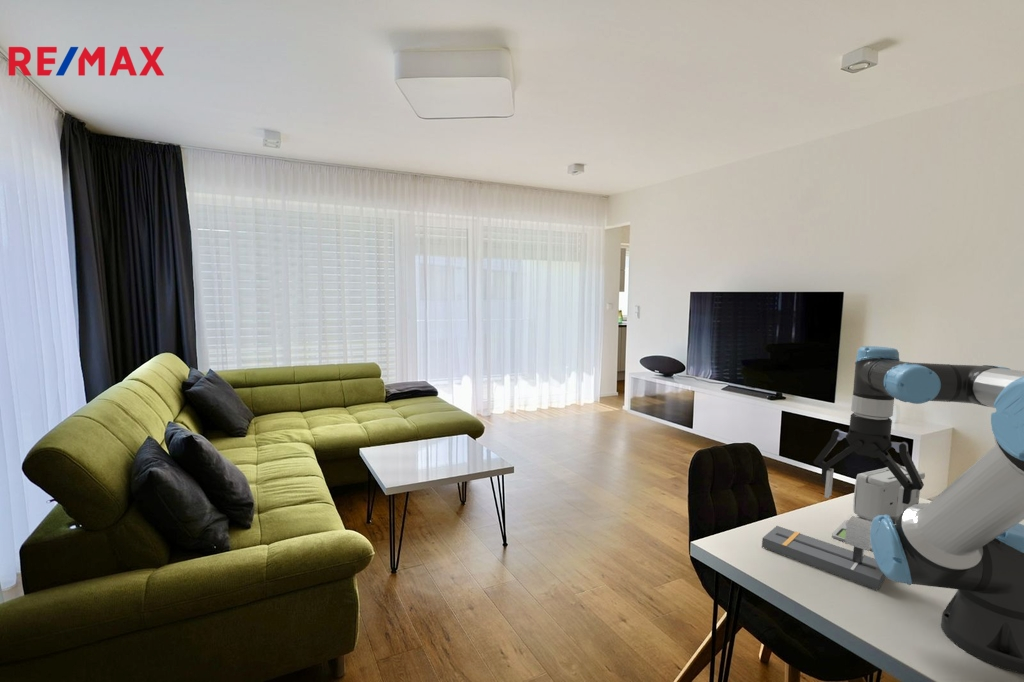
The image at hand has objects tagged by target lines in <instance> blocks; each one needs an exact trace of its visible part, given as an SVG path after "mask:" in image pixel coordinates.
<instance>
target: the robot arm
mask: <svg viewBox="0 0 1024 682" xmlns="http://www.w3.org/2000/svg"><path fill="white" fill-rule="evenodd" d="M856 353H857V354H856V359H855V362H854V364H855V365H854V366H855V367H854V377H853V378H854V379H853V391H852V398H851V407H850V408H851V409H850V410H851V412H852V413H851V414H850V419H849V428H848V432H844V431H842V430H841V429H840V428H837V429H835V430H833V431H832V432H831V436H830V440H829V441H827V443H826V445H825V446H824V447H823V449H821V451H820V452H819V454H818V455H816V457H815V459H814V460H813V461H812V463H813V464H814V465H815V466H818V467H820V468H821V477H820V480H821V482H822V483H824V484H825V485H824V486H825V487H824V499H825V498H826V499H829V498H830V497H831V496H832V493H833V482H834V480H833V479H834V470H835V469H834V468H831V467H833V466H834V465H836V464H837V463H838V462H840V461H841V460H843V459H844V458H846V457H847V456H849V455H850V454H852V453H856V454H857V455H859V456H867V457H869V458H872V459H873V458H874V459H875V458H879V459H880V461H881V462H882V463H884V465H885V466H886V467H888V468H889V470H890V471H891V472H892V474H893V475H894V476H895V477H896V479H897V480H898V481H899V482H900V484H901V485H902V486H901V487H900V488H899V494H898V503H897V513H896V516H889V515H878V516H876V517H875V518H874V519H873V521H871V522H872V523H871V528H870V537H871V546H872V550H873V552H872V553H873V558H874V559H875V560H876V562H877V564H878V566H879V568H880V570H881V571H882V572H883V573H884V575H885V576H886V578H887V579H888V580H891V581H893V582H896V583H901V584H906V585H908V586H911V585H917V586H918V585H919V586H925V587H926V586H927V587H932V588H933V587H935V588H945V589H951V590H956V592H955V593H954V595H953V596H952V598H951V599H950V601H949V603H948V604H947V605H946V607H945V609H944V610H943V612H942V613H941V619H940V620H941V621H940V628H941V630H942V632H943V634H944V635H945V636H946V637H947V638H948V639H949V640H950V641H951V642H952V643H954V644H955V645H956V646H958V647H959V648H961V649H963V650H964V651H965V652H966V653H968V654H970V655H971V656H972V655H973V656H975V657H976V658H977V659H980V660H982V661H984V662H986V663H988V664H990V665H994V666H995V667H999V668H1002V669H1004V670H1008V671H1010V672H1013V673H1018V674H1022V675H1024V524H1021V522H1022V521H1023V520H1024V371H1023V370H1017V369H1011V368H1008V367H1005V366H998V365H997V366H996V365H976V364H975V365H973V364H972V365H971V364H950V363H949V364H946V363H928V362H927V363H925V362H909V361H902V360H900V352H899V351H898V349H896V348H894V347H889V346H887V347H886V346H876V345H875V346H873V345H867V346H866V345H865V346H861V347H859V348H858V349H857V352H856ZM895 400H898V401H901V402H904V403H909V404H914V405H915V404H916V405H918V404H919V405H920V404H925V403H928V402H941V403H942V402H944V403H945V402H947V403H951V402H952V403H961V404H962V403H963V404H973V405H978V406H983V407H988V408H993V409H996V410H995V412H991V414H990V425H991V431H992V434H993V438H994V443H995V444H994V446H992V448H990V449H989V450H988V451H987V452H986V453H984V454H983V456H982V457H980V458H979V459H978V460H977V461H976V462H974V464H972V465H971V466H970V467H969V468H968V469H966V470H965V471H964V472H963V473H962V474H961V475H960V476H959V477H957V479H955V480H954V481H953V482H951V484H949V485H948V486H947V487H946V488H945V489H944V490H943V491H942V492H940V493H939V494H938V495H937V496H936V497H935V498H934V499H933V500H932V501H930V502H929V503H927V502H920V503H919V504H915V505H912V506H910V507H909V508H907V509H906V510H905V511H904V512H903V507H904V504H909V503H910V501H911V494H912V490H920V491H921V490H922V489H923V487H924V485H925V484H924V482H923V479H921V478H920V475H919V473H918V471H919V470H917V469H918V468H916V465H915V463H914V461H913V459H912V457H911V455H910V452H909V443H908V442H906V441H902V442H897V441H892V439H891V434H892V426H893V425H892V424H893V420H892V419H891V417H893V415H894V406H895V405H894V403H895ZM843 439H846V441H847V442H848V444H849V446H848V447H846V448H845V449H843V450H842V451H841V452H839V453H837V454H836V455H835V456H833V457H832V458H830V459H829V460H828V461H824V460H825V459H826V457H827V456H828V455H829V454H830V452H831V451H832V449H834V447H835V446H836V445H837V443H838V442H839V441H842V440H843ZM891 448H893V449H895V450H894V451H895V452H896V453H899V457H900V458H901V461H902V463H903V465H904V466H903V467H905V468H906V470H907V472H908V474H909V476H910V478H911V480H912V482H910V480H909V479H908V478H907V477H906V475H905V474H904V473H903V472H902V470H901V469H900V468H899V467H898V465H897V464H898V463H897V462H896V461H895V460H894V459H893V458H892V456H891V454H890V453H889V452H888V451H889V450H890V449H891ZM895 462H896V463H897V464H896V463H895Z"/></svg>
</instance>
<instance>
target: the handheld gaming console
mask: <svg viewBox="0 0 1024 682" xmlns="http://www.w3.org/2000/svg"><path fill="white" fill-rule="evenodd" d="M848 520H849V519H846V520H844V521H843V522H842V523H841V524H840V525H839V526H838V527H837V528H836V529H835V530H834V531H833V532H832V533H831V538H832V539H833V540H837V541H839V542H842V543H845V536H846V526H847V522H848ZM869 551H870V552H872V553H873V550H872V547H871V548H870V550H869ZM869 551H868V552H869Z"/></svg>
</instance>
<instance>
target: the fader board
mask: <svg viewBox="0 0 1024 682" xmlns="http://www.w3.org/2000/svg"><path fill="white" fill-rule="evenodd" d="M761 539H762V540H761V548H763V547H764V549H765V548H767V549H766V550H768V549H769V551H771V550H772V551H771V552H773V551H774V552H773V553H776V552H777V554H779V555H781V554H782V556H784V555H785V556H784V557H786V558H790V559H793V560H794V561H797V560H798V561H797V562H800V563H804V564H805V563H806V565H807V566H808V565H809V566H811V567H814V568H817V569H820V570H822V571H824V572H827V573H830V574H833V575H835V576H838V577H840V578H842V579H846V580H849V581H850V582H853V583H856V584H860V585H862V586H863V587H867V588H869V589H873V590H875V591H880V588H881V587H882V585H883V583H884V581H885V579H886V578H887V577H886V576H885V575H884V573H883V572H882V571H881V570H880V568H879V566H878V564H877V562H876V560H875V557H871V556H868V555H865V554H864V553H863V561H862V563H858V562H855V561H853V551H854V550H850V549H847V548H845V547H841V546H839V545H835V544H833V543H830V542H826V541H824V540H821V539H818V538H814V537H812V536H809V535H806V534H803V533H800V532H799V531H793V530H791V529H788V528H785V527H781V526H779V525H776V526H775V527H774V528H772V529H771V530H770V531H768V533H766V534H765V535H764V536H763V537H762V538H761ZM880 586H881V587H880Z"/></svg>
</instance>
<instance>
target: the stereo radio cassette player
mask: <svg viewBox="0 0 1024 682" xmlns="http://www.w3.org/2000/svg"><path fill="white" fill-rule="evenodd" d="M894 462H895V463H896V464H897V465H898V467H899V468H900V469H901V470H902V472H903V473H904V474H905V475H906V477H907V478H908V479H909V480H910V482H912V480H911V478H910V476H909V474H908V472H907V470H906V468H905V466H903V465H901V464H899V463H897V462H896V461H894ZM917 471H918V473H919V475H920V478H921V480H924V479H925V477H926V474H925V472H923V471H921V470H917ZM855 478H856V479H855V484H854V491H853V492H854V493H853V508H852V509H853V510H852V511H853V513H854V514H855V515H857V517H858V518H861V519H864V520H868V521H871V522H872V521H873V519H874V518H875V517H876V516H878V515H889V516H896V513H897V503H898V494H899V488H900V487H901V486H902V485H901V484H900V482H899V481H898V480H897V479H896V477H895V476H894V475H893V474H892V472H891V471H890V470H889V468H888V467H887V466H886V467H883V468H878V469H875V470H874V469H873V470H870V471H865V472H861V473H857V475H856V477H855ZM920 495H921V490H912V494H911V501H910V503H909V504H904V507H903V512H904V511H905V510H906V509H907V508H909V507H910V506H912V505H915V504H920V503H919V502H920Z"/></svg>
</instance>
